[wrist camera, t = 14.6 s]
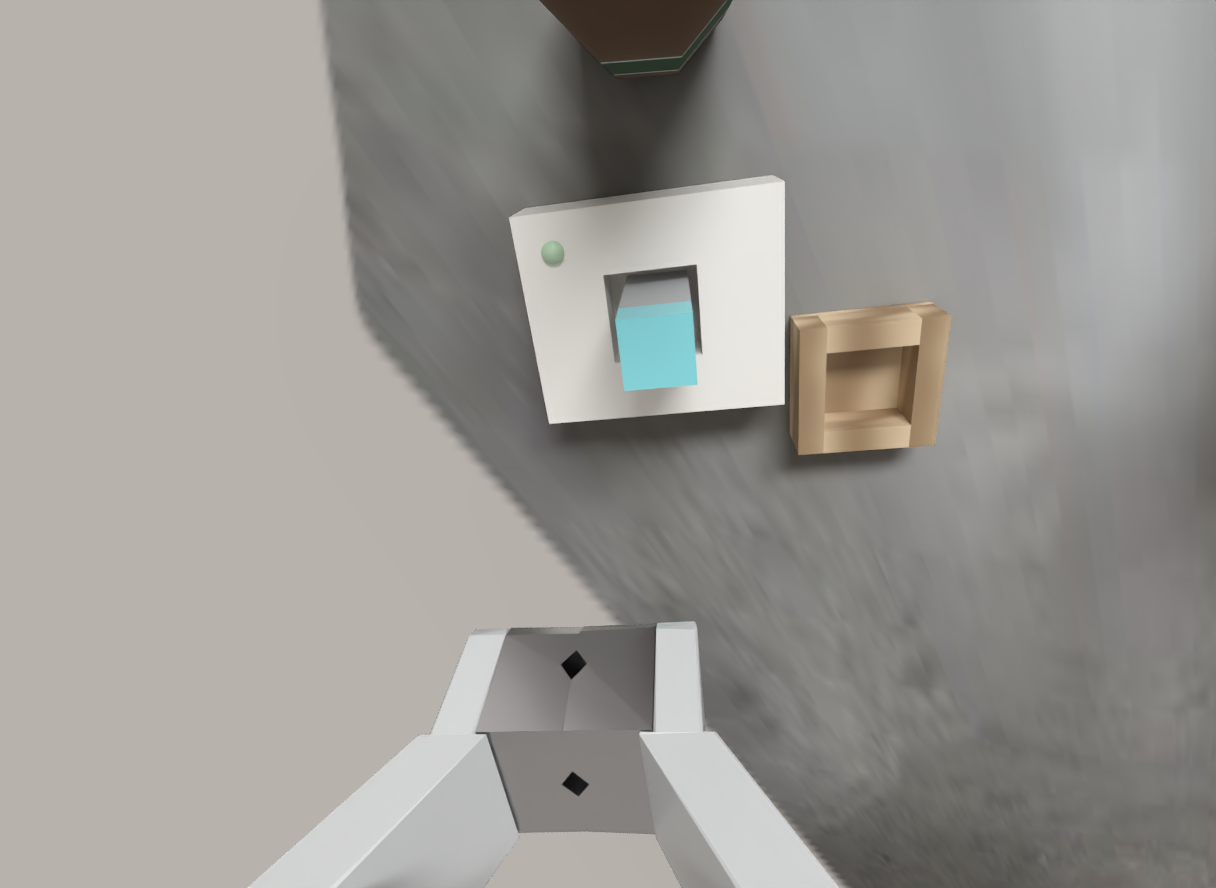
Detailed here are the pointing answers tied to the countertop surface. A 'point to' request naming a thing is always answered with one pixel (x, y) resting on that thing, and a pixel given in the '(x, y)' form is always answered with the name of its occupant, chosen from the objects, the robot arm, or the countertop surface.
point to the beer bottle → (640, 31)
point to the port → (644, 244)
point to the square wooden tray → (867, 377)
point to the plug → (656, 331)
